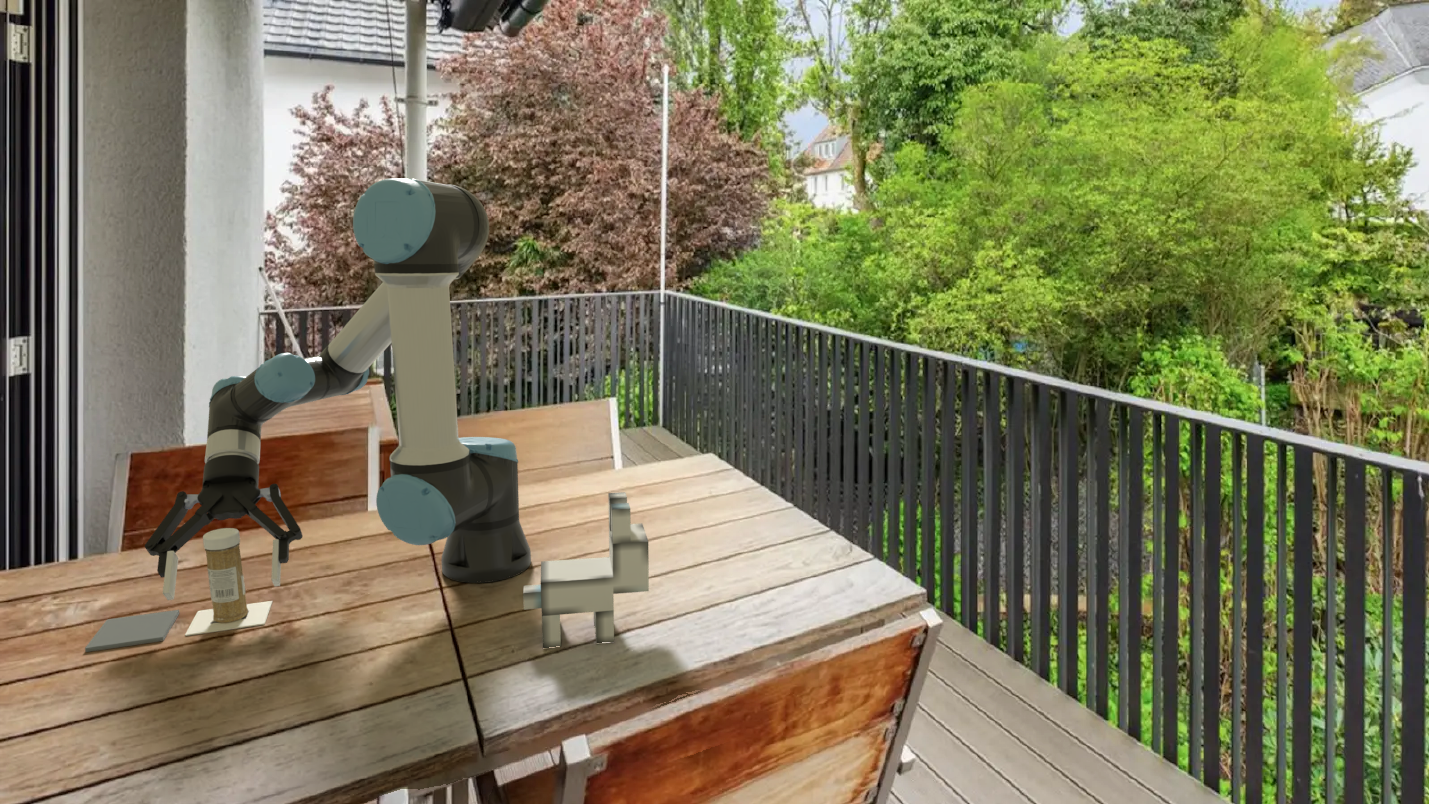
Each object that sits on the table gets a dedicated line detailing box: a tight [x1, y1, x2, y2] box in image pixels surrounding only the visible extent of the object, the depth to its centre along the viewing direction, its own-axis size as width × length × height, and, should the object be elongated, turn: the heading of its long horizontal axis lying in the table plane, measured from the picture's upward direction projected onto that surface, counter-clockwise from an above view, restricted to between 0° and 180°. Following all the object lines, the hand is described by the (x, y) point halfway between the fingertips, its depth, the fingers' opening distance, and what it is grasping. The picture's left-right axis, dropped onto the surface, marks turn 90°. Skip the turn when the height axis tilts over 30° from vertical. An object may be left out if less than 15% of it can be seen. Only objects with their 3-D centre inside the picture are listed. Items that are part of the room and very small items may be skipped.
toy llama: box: [522, 492, 650, 649], centre depth 112 cm, size 8×18×20 cm, turn 102°
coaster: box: [84, 609, 180, 653], centre depth 112 cm, size 9×9×1 cm
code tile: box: [184, 600, 273, 637], centre depth 117 cm, size 10×8×1 cm
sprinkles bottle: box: [202, 527, 248, 623], centre depth 115 cm, size 5×5×13 cm
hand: (223, 589), depth 114 cm, fingers open, 13 cm apart
